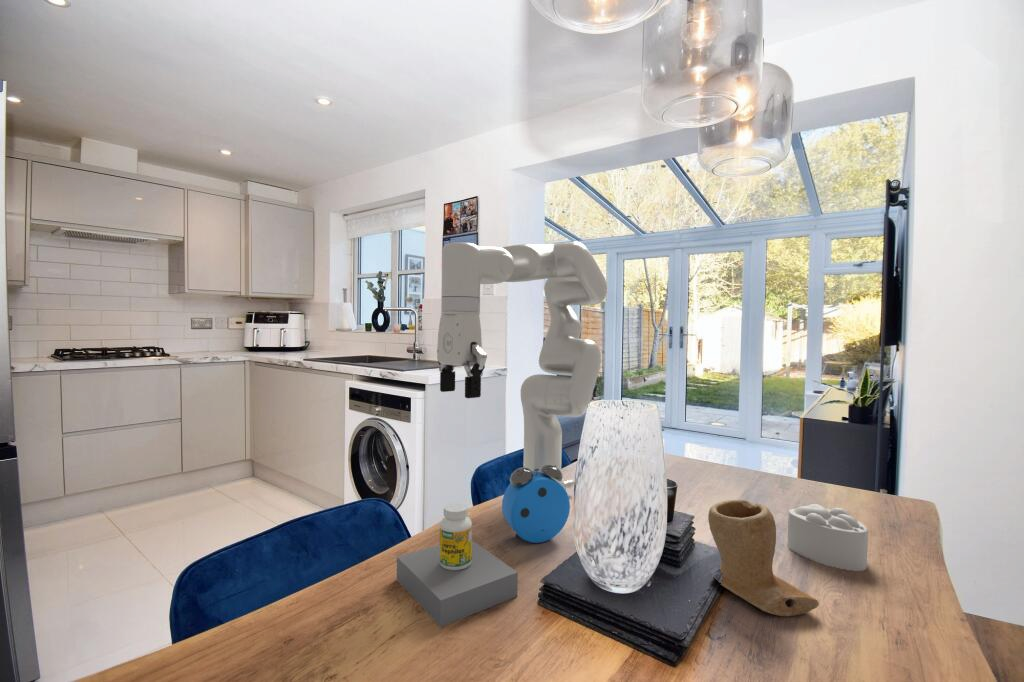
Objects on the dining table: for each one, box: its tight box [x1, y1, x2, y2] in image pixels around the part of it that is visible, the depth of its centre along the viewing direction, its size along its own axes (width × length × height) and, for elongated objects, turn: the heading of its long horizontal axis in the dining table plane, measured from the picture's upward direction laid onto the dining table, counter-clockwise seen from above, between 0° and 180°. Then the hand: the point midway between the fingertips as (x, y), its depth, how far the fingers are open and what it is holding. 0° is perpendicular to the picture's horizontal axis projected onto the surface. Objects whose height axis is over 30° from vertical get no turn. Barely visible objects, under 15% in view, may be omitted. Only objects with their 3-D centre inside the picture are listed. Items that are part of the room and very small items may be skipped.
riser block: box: [396, 539, 519, 628], centre depth 81 cm, size 14×16×4 cm
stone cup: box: [707, 499, 820, 617], centre depth 80 cm, size 15×12×15 cm
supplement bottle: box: [439, 502, 473, 571], centre depth 81 cm, size 5×5×10 cm
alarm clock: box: [501, 465, 571, 544], centre depth 100 cm, size 13×6×15 cm, turn 112°
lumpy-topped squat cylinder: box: [786, 503, 869, 572], centre depth 95 cm, size 10×13×9 cm
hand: (459, 394), depth 95 cm, fingers open, 9 cm apart
